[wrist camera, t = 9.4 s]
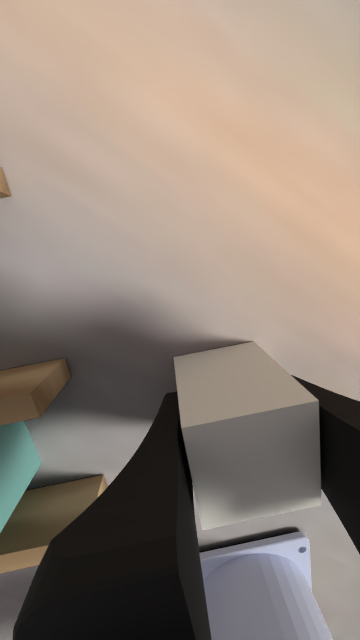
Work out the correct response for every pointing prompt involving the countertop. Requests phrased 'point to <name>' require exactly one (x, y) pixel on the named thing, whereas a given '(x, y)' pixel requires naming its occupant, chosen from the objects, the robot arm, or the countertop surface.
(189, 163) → the countertop surface
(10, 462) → the teal plug block
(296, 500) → the white rectangular block
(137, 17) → the countertop surface
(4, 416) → the rack
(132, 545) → the robot arm
